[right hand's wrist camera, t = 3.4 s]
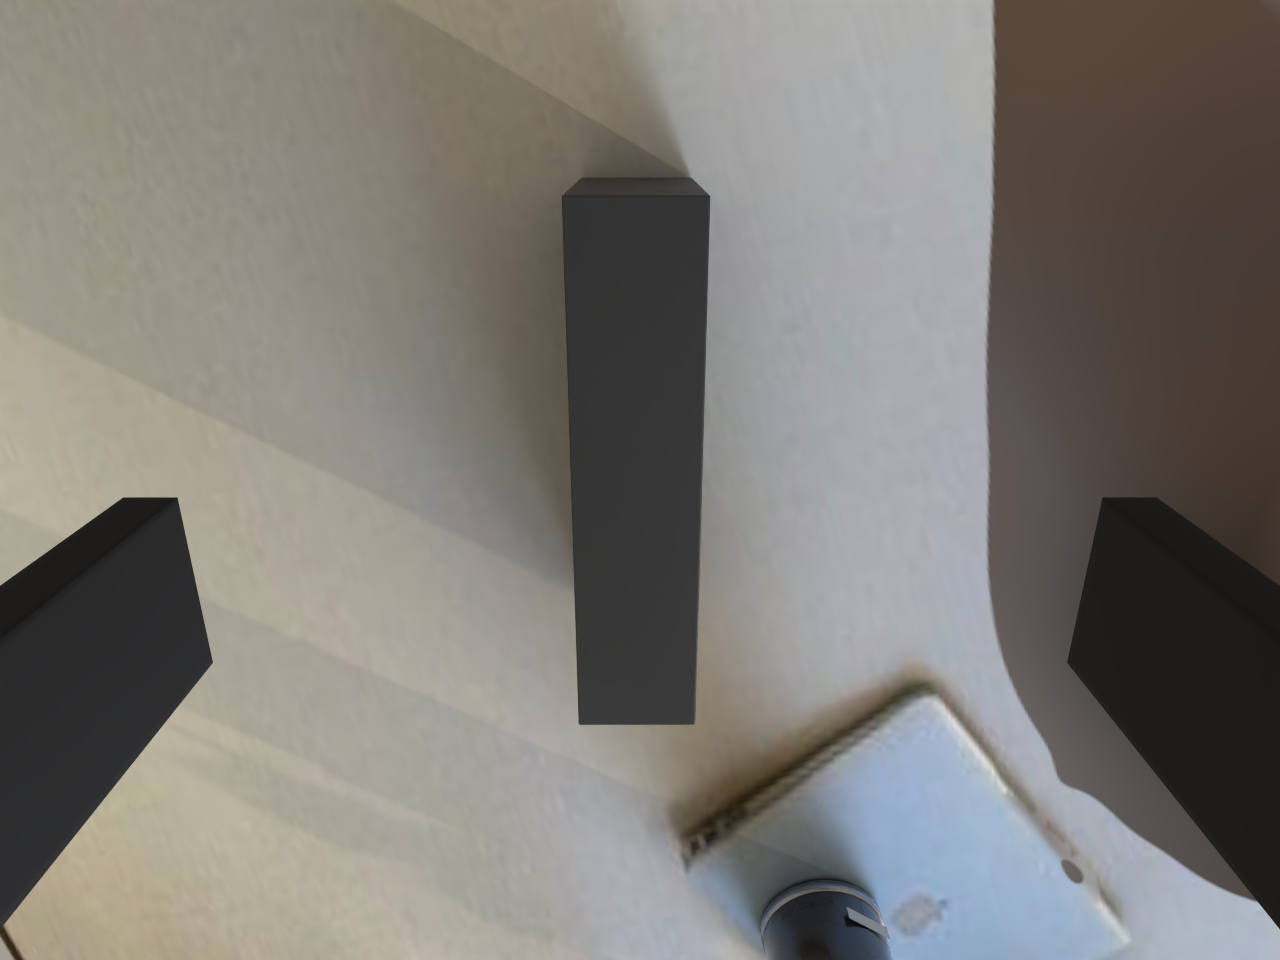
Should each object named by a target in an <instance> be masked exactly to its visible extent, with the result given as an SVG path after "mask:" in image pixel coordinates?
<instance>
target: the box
mask: <svg viewBox="0 0 1280 960" xmlns="http://www.w3.org/2000/svg"><path fill="white" fill-rule="evenodd" d="M562 214H563V246H564V277H565V308H566V339H567V370H568V401H569V433H570V464H571V495H572V526H573V557H574V589H575V620H576V651H577V682H578V713H579V725H694V724H695V711H696V676H697V641H698V606H699V571H700V536H701V501H702V466H703V431H704V395H705V360H706V325H707V290H708V255H709V220H710V196H709V195H708V194H707V193H706V192H705V191H704V190H703V189H702V188H701V187H700V186H699V185H698V184H697V183H696V182H695V181H694V180H693V179H692V178H581V179H580V180H579V181H578V182H577V183H576V184H575V185H574V186H573V187H571V188H570V189H569V190H568V191H567V192H566V193H565V194H564V195H563V196H562Z"/></svg>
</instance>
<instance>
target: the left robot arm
mask: <svg viewBox="0 0 1280 960" xmlns="http://www.w3.org/2000/svg"><path fill="white" fill-rule="evenodd" d="M761 937H762V943H763V947H764V950H765V954H766V960H893V958H892V954H891V951H890V948H889V945H888V941H887V938H889V934H888V931H887V928H886V927H885V926H884V924H883V920H882V917H881V914H880V911H879V908H878V906H877V904H876V903H875V901H874V900H873V899H872V897H871V896H870V895H868V894H867V893H866V892H865V891H863V890H862V889H860V888H858V887H856V886H854V885H851V884H849V883H845V882H841V881H834V880H817V881H810V882H805V883H802V884H799V885H796V886H794V887H791V888H789V889H787V890H786V891H784V892H782V893H781V894H780V895H778V896H777V897H776V898H775V899H774V900H773V901H772V902H771V903H770V904H769V905H768V907H767V908H766V910H765V912H764V914H763V917H762V920H761ZM886 937H887V938H886ZM889 939H890V938H889Z"/></svg>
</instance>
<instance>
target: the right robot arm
mask: <svg viewBox="0 0 1280 960" xmlns="http://www.w3.org/2000/svg"><path fill="white" fill-rule="evenodd" d="M212 663H213V661H212V657H211V652H210V647H209V643H208V638H207V633H206V629H205V624H204V619H203V615H202V610H201V605H200V601H199V596H198V591H197V587H196V582H195V577H194V573H193V568H192V563H191V559H190V554H189V549H188V545H187V540H186V536H185V531H184V526H183V522H182V517H181V512H180V508H179V503H178V498H122V499H121V500H119V501H118V502H116V503H115V504H114V505H112V506H111V507H110V508H108V509H107V510H105V511H104V512H103V513H101V514H100V515H98V516H97V517H96V518H94V519H93V520H91V521H90V522H89V523H87V524H86V525H84V526H83V527H82V528H80V529H79V530H77V531H76V532H75V533H73V534H72V535H70V536H69V537H68V538H66V539H65V540H63V541H62V542H61V543H59V544H58V545H56V546H55V547H54V548H52V549H51V550H49V551H48V552H47V553H45V554H44V555H43V556H41V557H40V558H38V559H37V560H36V561H34V562H33V563H31V564H30V565H29V566H27V567H26V568H24V569H23V570H22V571H20V572H19V573H17V574H16V575H15V576H13V577H12V578H10V579H9V580H8V581H6V582H5V583H3V584H2V585H1V586H0V929H1V927H2V926H3V925H4V924H5V922H6V921H7V920H8V919H9V917H10V916H11V915H12V914H13V912H14V911H15V910H16V909H17V907H18V906H19V905H20V904H21V902H22V901H23V900H24V899H25V897H26V896H27V895H28V894H29V892H30V891H31V890H32V889H33V887H34V886H35V885H36V884H37V882H38V881H39V880H40V879H41V877H42V876H43V875H44V874H45V872H46V871H47V870H48V869H49V867H50V866H51V865H52V864H53V862H54V861H55V860H56V859H57V857H58V856H59V855H60V854H61V852H62V851H63V850H64V849H65V847H66V846H67V845H68V844H69V842H70V841H71V840H72V839H73V837H74V836H75V835H76V833H77V832H78V831H79V830H80V828H81V827H82V826H83V825H84V823H85V822H86V821H87V820H88V818H89V817H90V816H91V815H92V813H93V812H94V811H95V810H96V808H97V807H98V806H99V805H100V803H101V802H102V801H103V800H104V798H105V797H106V796H107V795H108V793H109V792H110V791H111V790H112V788H113V787H114V786H115V785H116V783H117V782H118V781H119V780H120V778H121V777H122V776H123V775H124V773H125V772H126V771H127V770H128V768H129V767H130V766H131V765H132V763H133V762H134V761H135V760H136V758H137V757H138V756H139V755H140V753H141V752H142V751H143V750H144V748H145V747H146V746H147V745H148V743H149V742H150V741H151V740H152V738H153V737H154V736H155V735H156V733H157V732H158V731H159V729H160V728H161V727H162V726H163V724H164V723H165V722H166V721H167V719H168V718H169V717H170V716H171V714H172V713H173V712H174V711H175V709H176V708H177V707H178V706H179V704H180V703H181V702H182V701H183V699H184V698H185V697H186V696H187V694H188V693H189V692H190V691H191V689H192V688H193V687H194V686H195V684H196V683H197V682H198V681H199V679H200V678H201V677H202V676H203V674H204V673H205V672H206V671H207V669H208V668H209V667H210V666H211V664H212ZM1067 663H1068V664H1069V666H1070V667H1071V668H1072V669H1073V671H1074V672H1075V673H1076V674H1077V675H1078V677H1079V678H1080V679H1081V681H1082V682H1083V683H1084V684H1085V686H1086V687H1087V688H1088V689H1089V691H1090V692H1091V693H1092V694H1093V696H1094V697H1095V698H1096V699H1097V701H1098V702H1099V703H1100V704H1101V706H1102V707H1103V708H1104V709H1105V711H1106V712H1107V713H1108V714H1109V716H1110V717H1111V718H1112V719H1113V721H1114V722H1115V723H1116V724H1117V726H1118V727H1119V728H1120V729H1121V731H1122V732H1123V733H1124V734H1125V736H1126V737H1127V738H1128V739H1129V741H1130V742H1131V743H1132V744H1133V746H1134V747H1135V748H1136V749H1137V751H1138V752H1139V753H1140V755H1141V756H1142V757H1143V758H1144V759H1145V761H1146V762H1147V763H1148V765H1149V766H1150V767H1151V768H1152V770H1153V771H1154V772H1155V773H1156V775H1157V776H1158V777H1159V778H1160V780H1161V781H1162V782H1163V783H1164V785H1165V786H1166V787H1167V788H1168V790H1169V791H1170V792H1171V793H1172V795H1173V796H1174V797H1175V798H1176V800H1177V801H1178V802H1179V803H1180V805H1181V806H1182V807H1183V808H1184V810H1185V811H1186V812H1187V813H1188V815H1189V816H1190V817H1191V818H1192V820H1193V821H1194V822H1195V823H1196V825H1197V826H1198V827H1199V828H1200V830H1201V831H1202V832H1203V833H1204V835H1205V836H1206V837H1207V839H1208V840H1209V841H1210V842H1211V844H1212V845H1213V846H1214V847H1215V848H1216V850H1217V851H1218V852H1219V853H1220V855H1221V856H1222V857H1223V859H1224V860H1225V861H1226V862H1227V864H1228V865H1229V866H1230V867H1231V869H1232V870H1233V871H1234V872H1235V874H1236V875H1237V876H1238V877H1239V879H1240V880H1241V881H1242V882H1243V884H1244V885H1245V886H1246V887H1247V889H1248V890H1249V891H1250V892H1251V894H1252V895H1253V896H1254V897H1255V899H1256V900H1257V901H1258V902H1259V904H1260V905H1261V906H1262V907H1263V909H1264V910H1265V911H1266V912H1267V914H1268V915H1269V916H1270V917H1271V919H1272V920H1273V921H1274V922H1275V924H1276V925H1277V926H1278V927H1279V929H1280V586H1279V585H1278V584H1277V583H1275V582H1274V581H1272V580H1271V579H1270V578H1268V577H1267V576H1265V575H1264V574H1263V573H1261V572H1260V571H1258V570H1257V569H1256V568H1254V567H1253V566H1251V565H1250V564H1249V563H1247V562H1246V561H1244V560H1243V559H1242V558H1240V557H1239V556H1237V555H1236V554H1235V553H1233V552H1232V551H1231V550H1229V549H1228V548H1226V547H1225V546H1224V545H1222V544H1221V543H1219V542H1218V541H1217V540H1215V539H1214V538H1212V537H1211V536H1209V535H1208V534H1207V533H1205V532H1204V531H1203V530H1201V529H1200V528H1198V527H1197V526H1196V525H1194V524H1193V523H1191V522H1190V521H1189V520H1187V519H1186V518H1184V517H1183V516H1182V515H1180V514H1179V513H1177V512H1176V511H1175V510H1173V509H1172V508H1170V507H1169V506H1168V505H1166V504H1165V503H1163V502H1162V501H1161V500H1159V499H1158V498H1102V503H1101V508H1100V512H1099V517H1098V522H1097V526H1096V531H1095V536H1094V540H1093V545H1092V550H1091V554H1090V559H1089V563H1088V568H1087V573H1086V577H1085V582H1084V587H1083V591H1082V596H1081V601H1080V605H1079V610H1078V615H1077V619H1076V624H1075V629H1074V633H1073V638H1072V643H1071V647H1070V652H1069V657H1068V661H1067Z"/></svg>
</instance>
